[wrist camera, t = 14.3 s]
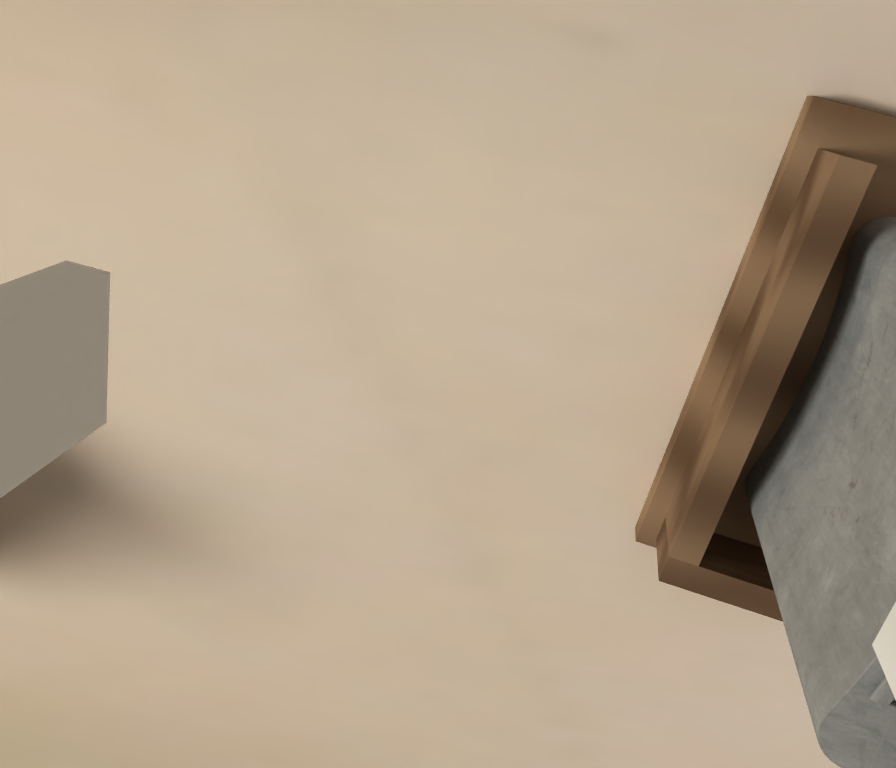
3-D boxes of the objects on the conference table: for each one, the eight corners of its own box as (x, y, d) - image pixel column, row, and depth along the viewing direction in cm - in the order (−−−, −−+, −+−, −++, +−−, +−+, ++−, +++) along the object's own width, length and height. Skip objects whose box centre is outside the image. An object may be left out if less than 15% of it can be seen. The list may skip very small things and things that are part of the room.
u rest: (807, 95, 36) (836, 97, 31) (1077, 166, 35) (1153, 179, 30) (635, 527, 46) (636, 582, 41) (844, 594, 44) (872, 660, 39)
